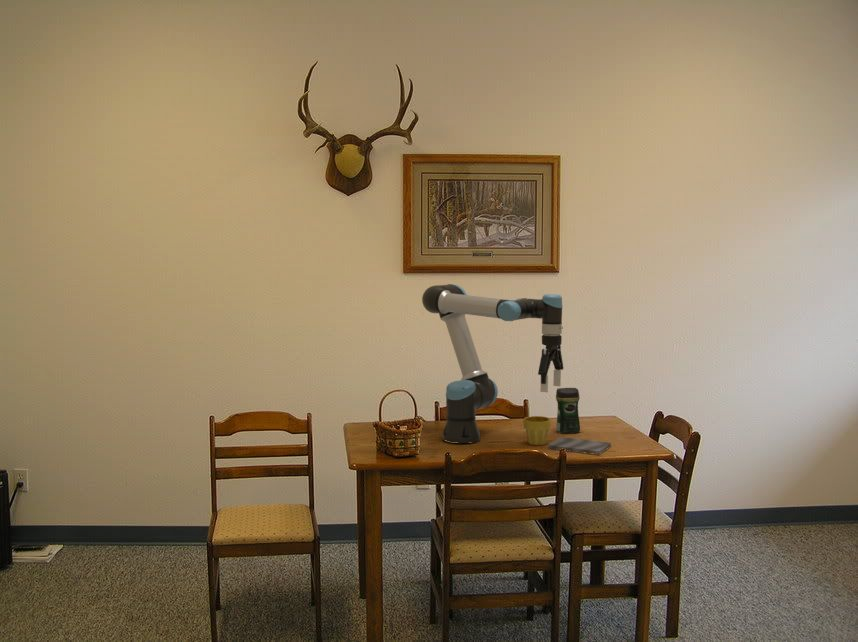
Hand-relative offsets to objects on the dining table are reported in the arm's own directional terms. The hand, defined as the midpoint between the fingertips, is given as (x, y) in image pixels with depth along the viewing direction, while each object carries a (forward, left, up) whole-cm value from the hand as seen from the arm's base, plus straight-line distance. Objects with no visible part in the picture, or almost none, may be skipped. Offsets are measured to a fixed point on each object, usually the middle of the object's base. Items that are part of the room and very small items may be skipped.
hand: (550, 389), depth 279 cm
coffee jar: (-1, +22, -22) cm, 31 cm away
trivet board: (+12, 0, -22) cm, 25 cm away
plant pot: (-5, -1, -22) cm, 23 cm away
